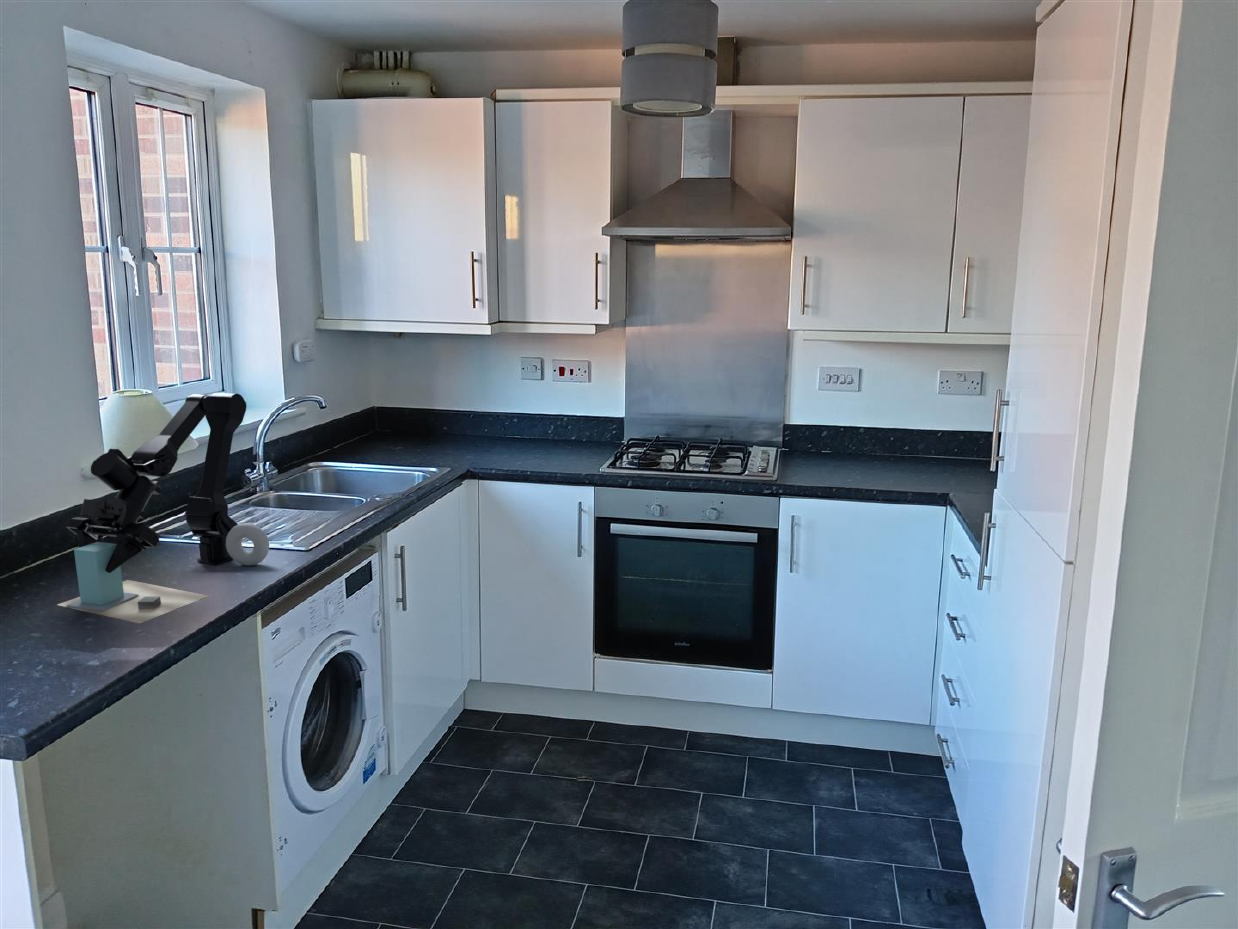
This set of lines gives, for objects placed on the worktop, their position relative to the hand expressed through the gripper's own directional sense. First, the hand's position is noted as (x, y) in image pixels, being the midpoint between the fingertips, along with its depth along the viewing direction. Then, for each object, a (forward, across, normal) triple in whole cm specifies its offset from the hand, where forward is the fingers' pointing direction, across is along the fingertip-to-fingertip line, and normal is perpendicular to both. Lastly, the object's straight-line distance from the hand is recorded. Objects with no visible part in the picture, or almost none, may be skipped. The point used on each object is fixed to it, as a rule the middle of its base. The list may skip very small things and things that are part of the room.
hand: (92, 570), depth 186 cm
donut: (-17, +10, +29) cm, 35 cm away
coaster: (+4, 0, +6) cm, 7 cm away
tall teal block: (+4, 0, +6) cm, 7 cm away
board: (+3, +5, +9) cm, 11 cm away
